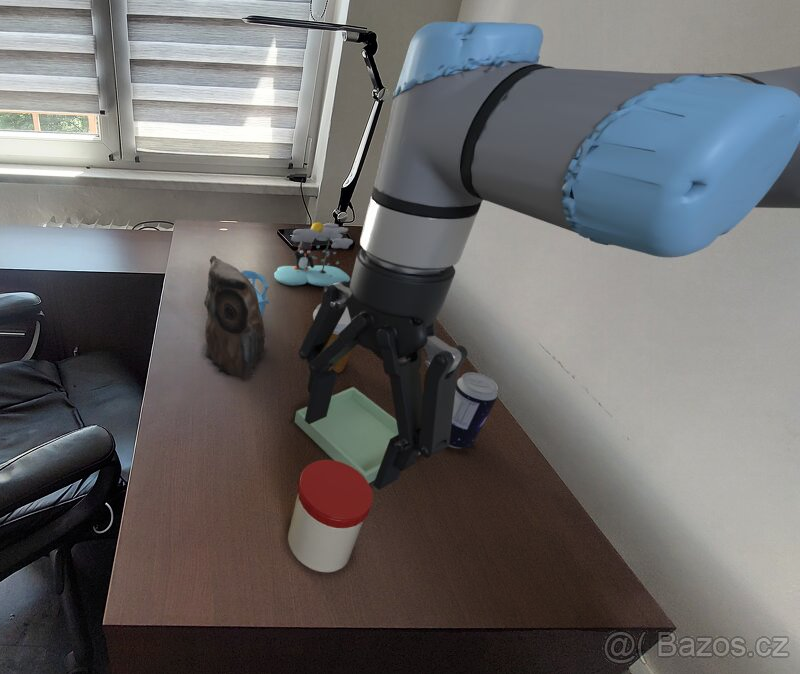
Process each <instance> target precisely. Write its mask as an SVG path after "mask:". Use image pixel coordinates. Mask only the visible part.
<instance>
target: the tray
mask: <svg viewBox="0 0 800 674" xmlns="http://www.w3.org/2000/svg"><path fill="white" fill-rule="evenodd" d="M307 407H308V405H307V406H305V407H303V408H299V409H298V410H296V411H295V416H294V421H293V422H294V423H295V425H297V426H298V427H299V428H300V429H301V430H302V431H303V432H304V433H305V434H306V435H307V436H308V437H309V438H310V439H312V441H313V442H314V443H315V444H317V446H318V447H319V448H320V449H322V450H323V451H324V452H325V454H327V456H329V457H330V458H331V460H333V461H338V462H342V463H344V464H347V465H349V466H351V467H352V468H354V469H355V470H357V471H358V472H359V473H360V474H362V476H363V477H364V478H365V479H366V480H367V482H368V483H369V484H370V483H372V482H374V481H375V478H376V476H377V473H378V470H379V468H380V465H381V462H382V460H383V457H384V454H385V452H386V449H387V446H388V444H389V441H390V439H391V438H393V437H395V436H397V435H398V428H397V421H396V418H395V417H393V416H392V415H391V414H389V413H388V412H387V411H385V409H383V408H382V407H380V406H379V405H378V404H377V403H375V402H374V401H372V400H371V399H370V398H369V397H367V396H366V395H365V394H363V392H361V391H360V390H358V389H357V388H356V387H355V386H351V387H350V388H347V389H345V390H342V391H340V392H338V393H336V394H332V397H331V401H330V405H329V409H328V413H327V417H325V418H322V419H320V420H318V421H316V422H313V423H311V424H308V423H307V422H306V421H305V416H306V411H307ZM419 455H422V454H421V453H420V452H419V454H418V456H419Z"/></svg>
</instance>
